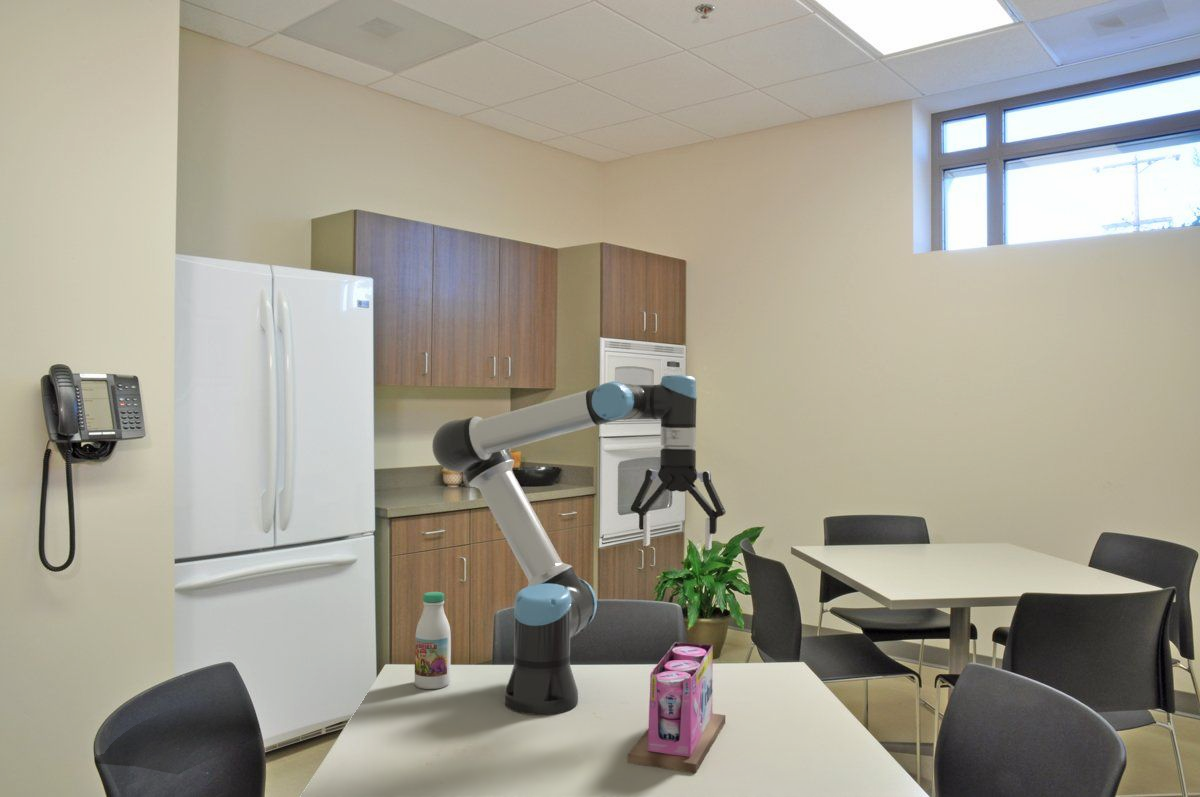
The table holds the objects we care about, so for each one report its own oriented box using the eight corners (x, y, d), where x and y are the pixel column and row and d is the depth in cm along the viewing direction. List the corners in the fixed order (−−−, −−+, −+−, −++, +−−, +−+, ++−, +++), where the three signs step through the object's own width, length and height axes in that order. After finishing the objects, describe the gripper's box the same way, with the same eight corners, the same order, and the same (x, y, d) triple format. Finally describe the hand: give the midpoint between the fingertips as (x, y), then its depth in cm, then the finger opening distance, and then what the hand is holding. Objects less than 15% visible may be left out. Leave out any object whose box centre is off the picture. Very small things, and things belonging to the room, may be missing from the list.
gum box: (690, 761, 146) (691, 680, 146) (644, 755, 148) (645, 676, 148) (713, 714, 168) (713, 644, 169) (673, 709, 171) (674, 641, 171)
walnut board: (627, 762, 148) (627, 753, 148) (665, 714, 172) (665, 707, 172) (695, 773, 144) (695, 764, 144) (725, 722, 168) (725, 715, 168)
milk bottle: (421, 678, 194) (422, 589, 194) (454, 680, 193) (455, 590, 193) (409, 689, 186) (410, 596, 186) (443, 691, 185) (445, 597, 185)
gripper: (617, 446, 185) (616, 545, 184) (732, 449, 176) (731, 553, 176) (627, 445, 192) (626, 541, 191) (739, 448, 183) (738, 548, 183)
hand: (677, 547), depth 184 cm, fingers open, 13 cm apart
